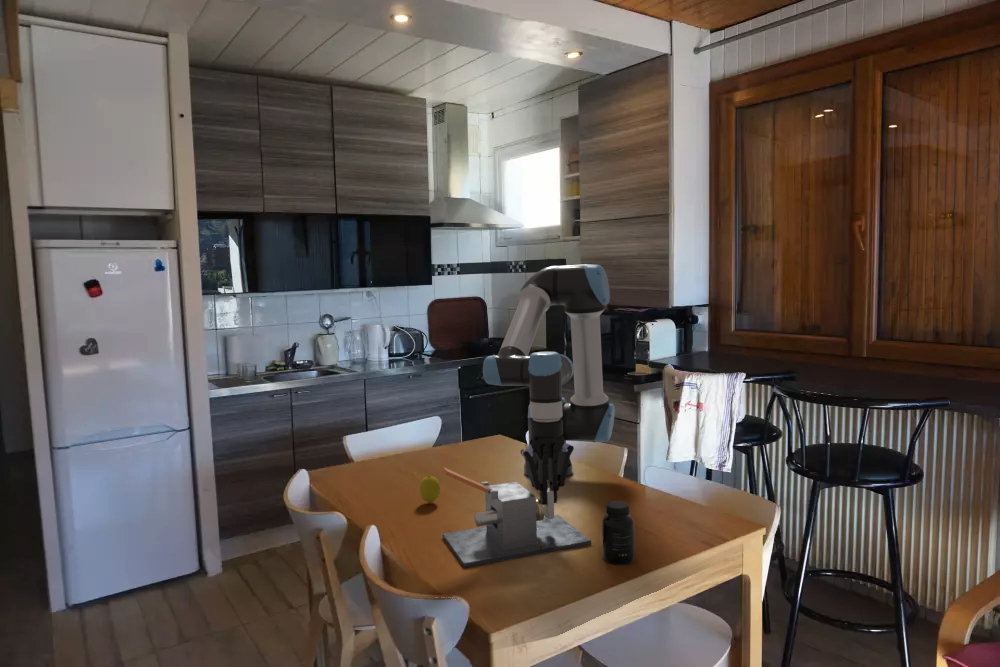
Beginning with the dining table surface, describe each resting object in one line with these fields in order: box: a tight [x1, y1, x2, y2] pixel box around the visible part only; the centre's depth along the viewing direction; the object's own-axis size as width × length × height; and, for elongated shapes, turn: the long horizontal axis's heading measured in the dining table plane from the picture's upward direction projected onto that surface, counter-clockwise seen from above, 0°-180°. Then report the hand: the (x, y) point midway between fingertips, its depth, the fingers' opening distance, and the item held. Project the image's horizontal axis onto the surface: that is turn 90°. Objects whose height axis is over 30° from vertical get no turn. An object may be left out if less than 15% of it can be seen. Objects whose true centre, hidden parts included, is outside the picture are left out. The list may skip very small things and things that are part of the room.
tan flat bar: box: [440, 466, 492, 494], centre depth 148 cm, size 13×4×1 cm, turn 110°
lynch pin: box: [474, 498, 545, 528], centre depth 152 cm, size 16×5×5 cm, turn 110°
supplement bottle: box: [601, 500, 636, 566], centre depth 141 cm, size 7×7×12 cm
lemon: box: [419, 474, 441, 505], centre depth 180 cm, size 6×6×8 cm
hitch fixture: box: [442, 481, 592, 569], centre depth 152 cm, size 30×18×14 cm, turn 110°
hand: (549, 516), depth 155 cm, fingers closed
